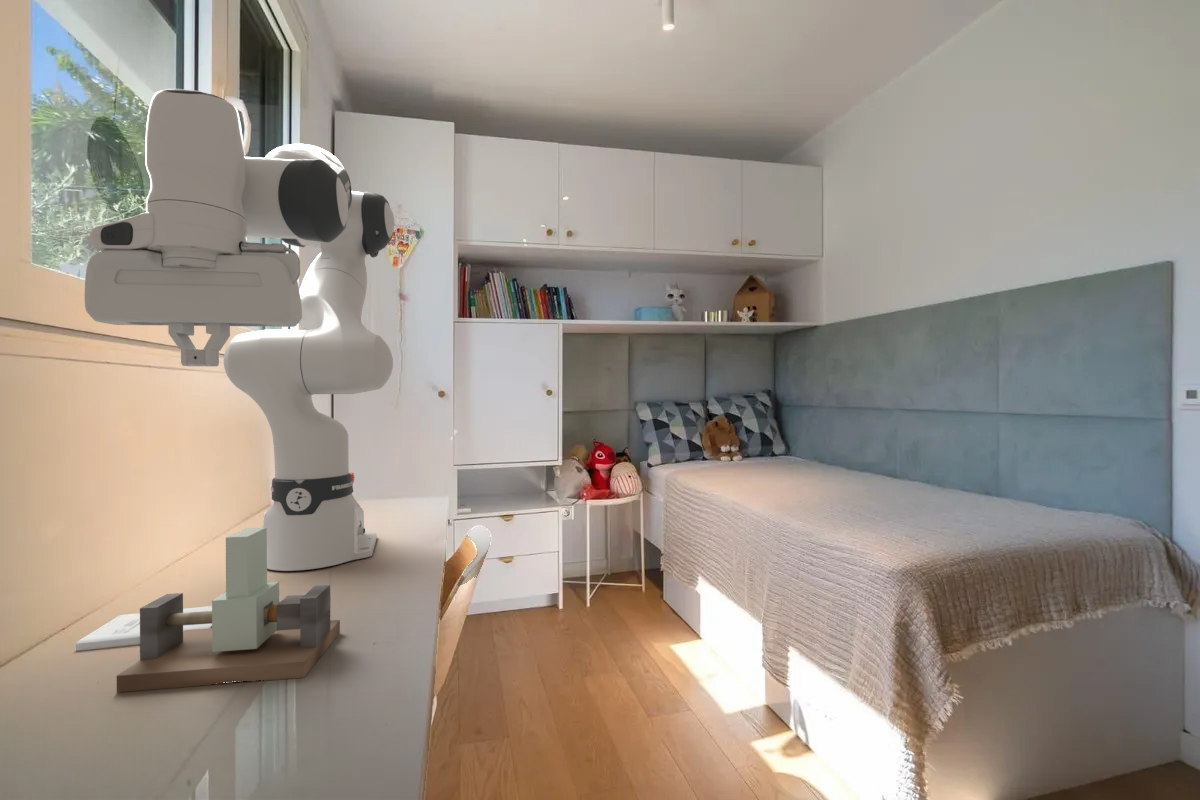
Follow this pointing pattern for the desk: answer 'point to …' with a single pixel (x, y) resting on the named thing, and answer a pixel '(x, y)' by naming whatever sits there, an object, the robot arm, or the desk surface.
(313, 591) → the rod rail stand
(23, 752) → the desk surface
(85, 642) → the external hard drive
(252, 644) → the mint green stepped block
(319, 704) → the desk surface
